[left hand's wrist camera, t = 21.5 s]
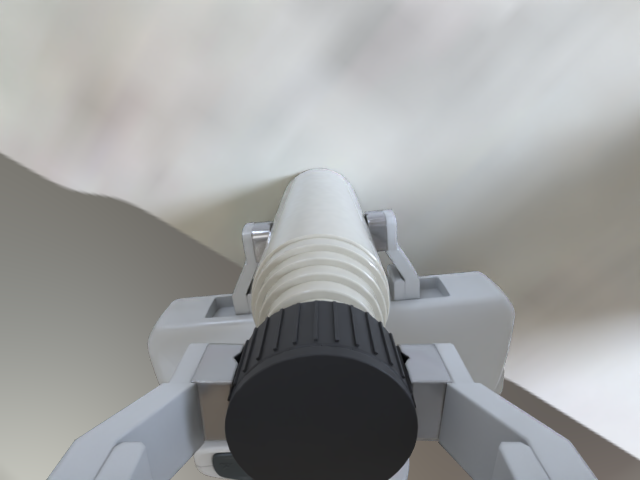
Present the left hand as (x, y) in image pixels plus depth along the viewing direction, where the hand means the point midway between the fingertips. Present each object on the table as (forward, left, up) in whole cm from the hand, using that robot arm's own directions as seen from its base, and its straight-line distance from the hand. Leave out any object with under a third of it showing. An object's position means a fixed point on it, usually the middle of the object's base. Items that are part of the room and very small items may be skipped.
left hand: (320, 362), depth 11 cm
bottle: (0, 0, -16) cm, 16 cm away
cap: (0, 0, +2) cm, 2 cm away
